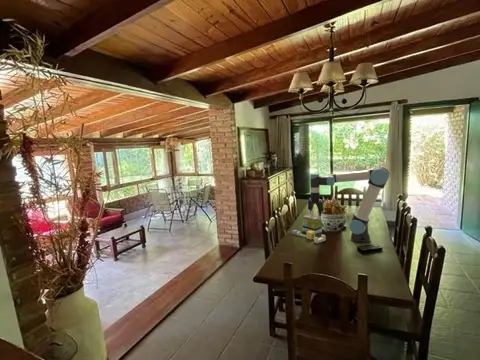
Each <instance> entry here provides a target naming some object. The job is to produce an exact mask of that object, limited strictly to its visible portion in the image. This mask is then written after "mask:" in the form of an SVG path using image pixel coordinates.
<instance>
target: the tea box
mask: <svg viewBox="0 0 480 360" xmlns="http://www.w3.org/2000/svg"><path fill="white" fill-rule="evenodd" d="M322 219H323V218H322V217H321V219H320V220H318V215H314V214H313V218H311V214H305V215H303V216H302V231H303V232H305V233H306V232H307V231H310V230H311V231H314V232H315V235H317V233H318V234H320V233H322V232H323V229H322V224H323V223H322Z"/></svg>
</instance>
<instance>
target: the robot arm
mask: <svg viewBox="0 0 480 360" xmlns="http://www.w3.org/2000/svg"><path fill="white" fill-rule="evenodd" d="M389 177H390V172H389V170H388V168H387V167H383V166H379V167H374V168H369V169H368V170H359V171H349V172H348V171H347V172H342V173H341V172H339V173H329V174H328V175H326V176H325V175H320V174H319V173H310V176H309V187H310V188H309V190H310V197H308V199H307V202H308V203H307V209H308V210H309V215H311V218H313V215H314V205H315V206H316V208H317V216H318V220H320V219H321V218H322V212H324V205H323V199H320V195H321V193H320V191H321V190H320V188H321V187H320V186H335V183H336V184H337V183H345V182H348V183H349V182H357V181H358V182H359V181H367V184H368V186H367V188H366V191H365V193H364V195H363V198H362V200H361V203H360V205H359V207H358V210H357V212H354V213H352V218H351V221H350V222H349V230H350V232H351V234H350V235H351V236H350V240H351V241H352V242H353V243H359V244H367V243H370V242H371V236H370V233H369V222H370V219H369V216H370V214H371V212H372V210H373V207H374V205H375V204H376V201H377V199H378V196H379V194H380V192H381V190H383V189H385V186H386V185H387V182H388V181H389Z"/></svg>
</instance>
